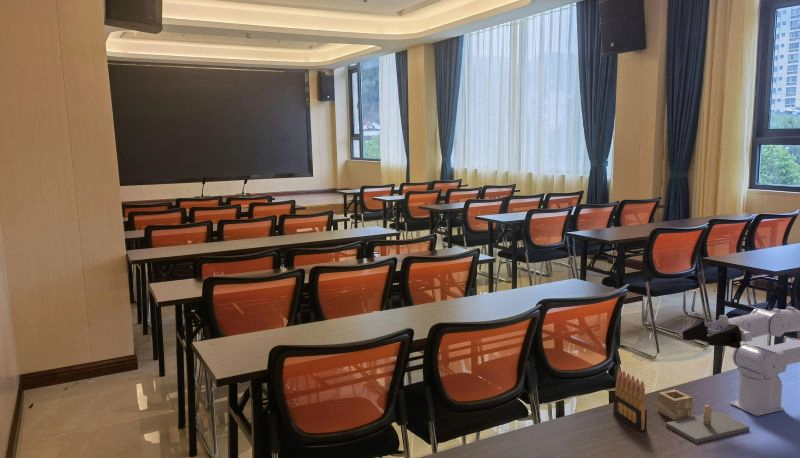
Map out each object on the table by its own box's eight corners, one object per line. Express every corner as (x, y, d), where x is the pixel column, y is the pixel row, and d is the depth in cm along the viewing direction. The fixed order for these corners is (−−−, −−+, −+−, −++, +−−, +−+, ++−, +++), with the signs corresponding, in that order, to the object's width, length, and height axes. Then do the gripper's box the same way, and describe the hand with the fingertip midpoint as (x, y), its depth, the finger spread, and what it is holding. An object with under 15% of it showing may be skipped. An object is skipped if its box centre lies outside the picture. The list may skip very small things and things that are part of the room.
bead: (674, 408, 152) (675, 389, 152) (691, 416, 147) (692, 397, 147) (657, 411, 151) (658, 392, 150) (674, 420, 146) (674, 400, 145)
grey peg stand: (716, 415, 148) (717, 392, 147) (748, 430, 139) (750, 406, 139) (665, 426, 142) (666, 403, 142) (696, 443, 134) (697, 418, 133)
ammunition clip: (646, 430, 141) (648, 382, 139) (640, 431, 140) (641, 383, 139) (619, 412, 151) (620, 366, 149) (613, 413, 151) (613, 367, 149)
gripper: (714, 308, 153) (671, 317, 149) (764, 316, 140) (719, 326, 135) (716, 335, 154) (674, 345, 149) (767, 346, 140) (722, 356, 136)
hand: (696, 338), depth 142 cm, fingers open, 7 cm apart
